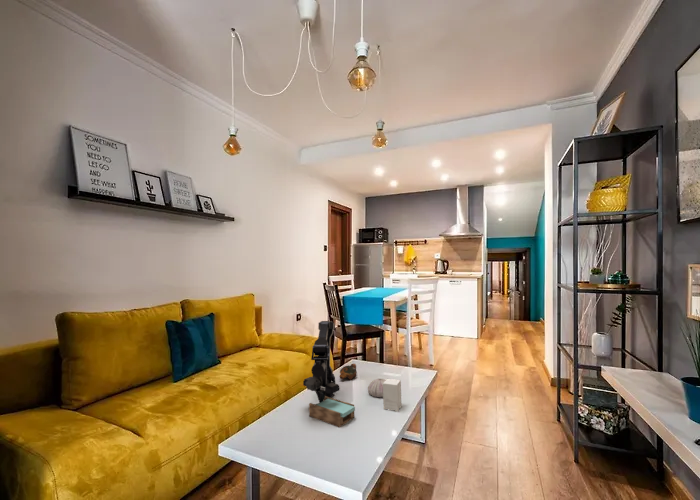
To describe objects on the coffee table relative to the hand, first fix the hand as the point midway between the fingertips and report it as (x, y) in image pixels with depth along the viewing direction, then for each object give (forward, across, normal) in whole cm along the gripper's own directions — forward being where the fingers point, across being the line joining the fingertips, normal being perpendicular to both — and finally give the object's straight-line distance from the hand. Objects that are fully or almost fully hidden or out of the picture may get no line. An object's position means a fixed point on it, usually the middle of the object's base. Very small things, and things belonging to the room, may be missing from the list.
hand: (320, 403), depth 154 cm
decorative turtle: (+5, -19, +46) cm, 49 cm away
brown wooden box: (+5, +7, 0) cm, 8 cm away
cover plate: (+1, +9, 0) cm, 9 cm away
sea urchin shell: (+5, +10, +36) cm, 38 cm away
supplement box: (+5, +24, +25) cm, 35 cm away
